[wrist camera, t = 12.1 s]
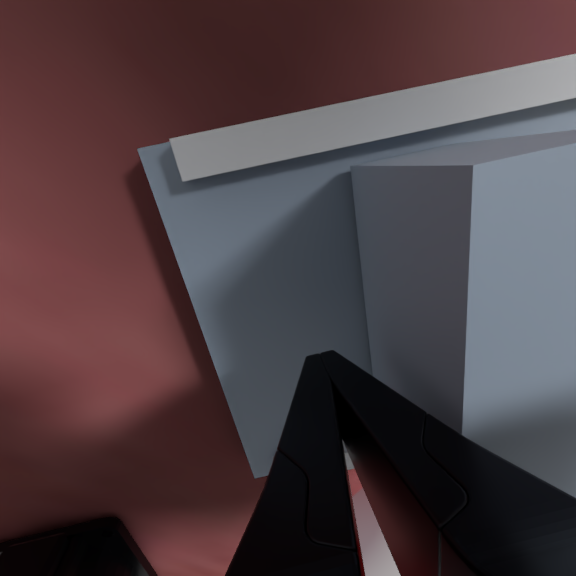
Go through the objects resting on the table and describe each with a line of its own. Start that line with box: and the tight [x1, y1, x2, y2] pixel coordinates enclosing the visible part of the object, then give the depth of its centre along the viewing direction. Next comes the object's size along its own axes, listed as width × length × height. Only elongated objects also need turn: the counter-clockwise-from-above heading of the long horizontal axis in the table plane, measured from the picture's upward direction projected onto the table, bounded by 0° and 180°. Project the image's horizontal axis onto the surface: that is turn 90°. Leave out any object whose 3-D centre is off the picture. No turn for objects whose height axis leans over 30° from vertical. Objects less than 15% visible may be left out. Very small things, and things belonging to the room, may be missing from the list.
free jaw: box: [350, 130, 576, 498], centre depth 8 cm, size 10×4×5 cm, turn 11°
